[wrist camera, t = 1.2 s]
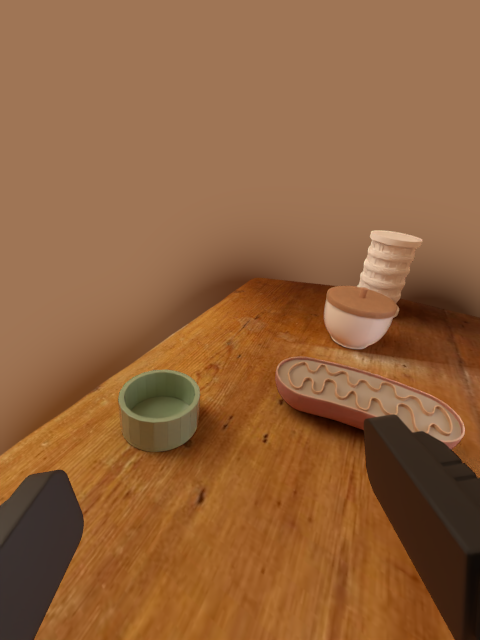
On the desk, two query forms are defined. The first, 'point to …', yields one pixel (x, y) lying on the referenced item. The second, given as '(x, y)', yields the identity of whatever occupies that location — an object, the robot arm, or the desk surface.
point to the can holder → (159, 410)
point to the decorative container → (388, 263)
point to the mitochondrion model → (363, 398)
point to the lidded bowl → (357, 315)
